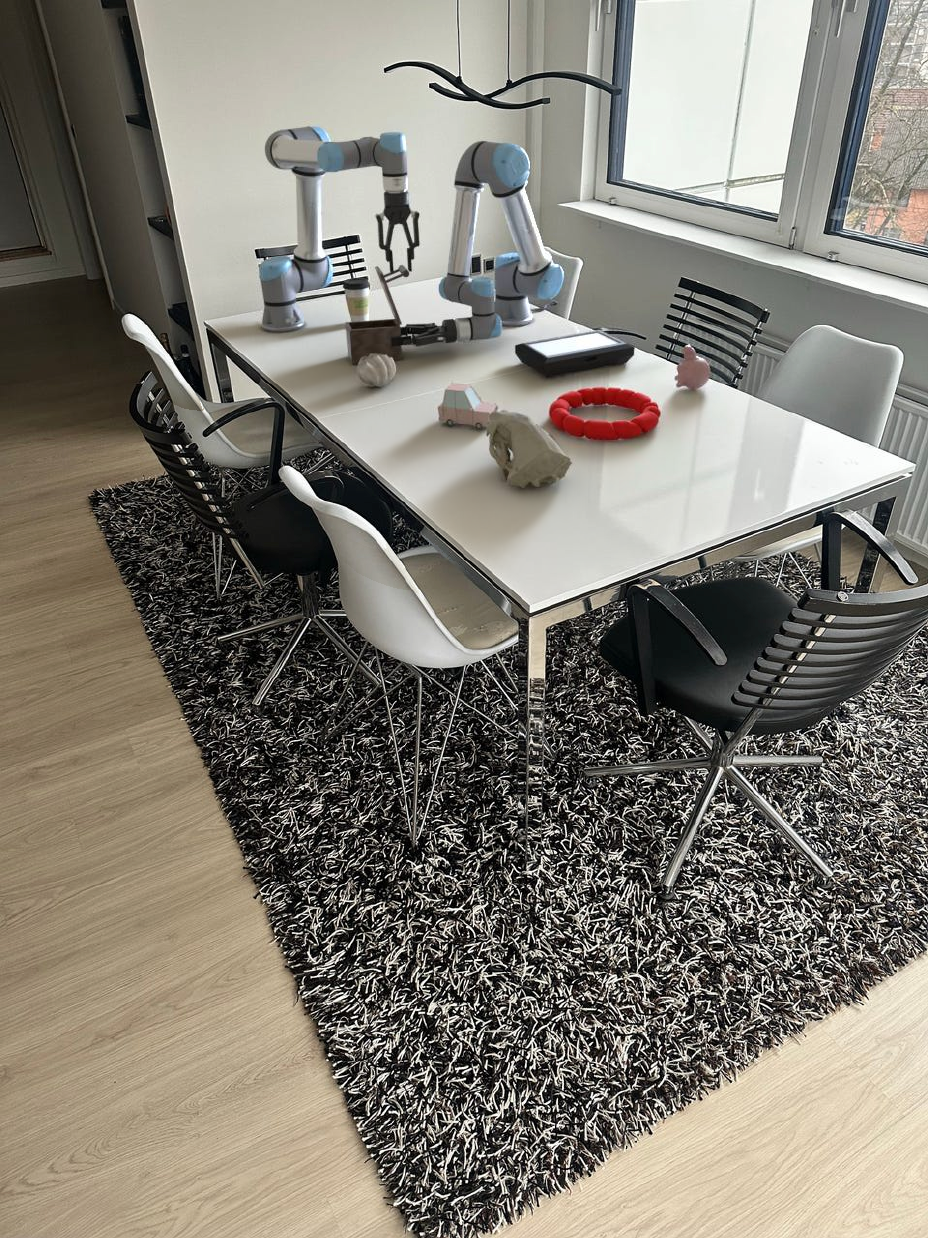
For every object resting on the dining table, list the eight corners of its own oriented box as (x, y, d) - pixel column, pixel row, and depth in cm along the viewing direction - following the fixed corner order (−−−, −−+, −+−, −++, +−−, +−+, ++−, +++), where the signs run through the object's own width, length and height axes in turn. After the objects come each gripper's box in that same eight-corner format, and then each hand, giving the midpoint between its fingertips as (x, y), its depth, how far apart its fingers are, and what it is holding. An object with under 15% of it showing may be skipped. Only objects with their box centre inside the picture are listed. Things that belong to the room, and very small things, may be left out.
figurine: (665, 387, 264) (669, 347, 257) (693, 380, 268) (698, 340, 261) (686, 396, 257) (690, 355, 250) (714, 388, 262) (720, 348, 255)
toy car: (488, 432, 240) (488, 396, 234) (436, 426, 244) (434, 390, 239) (499, 419, 247) (499, 384, 241) (448, 413, 252) (447, 379, 246)
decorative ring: (589, 435, 224) (684, 402, 234) (527, 398, 247) (617, 369, 256) (589, 461, 229) (683, 427, 238) (529, 422, 251) (617, 393, 260)
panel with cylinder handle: (379, 273, 276) (406, 262, 276) (374, 266, 283) (400, 255, 283) (399, 325, 286) (424, 314, 286) (393, 317, 293) (418, 306, 293)
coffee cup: (372, 326, 323) (368, 283, 314) (345, 327, 323) (340, 284, 315) (374, 318, 331) (371, 276, 322) (348, 319, 331) (344, 277, 323)
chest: (351, 363, 289) (349, 330, 283) (348, 354, 296) (345, 322, 290) (402, 359, 292) (400, 326, 286) (396, 350, 300) (395, 318, 294)
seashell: (349, 385, 273) (346, 353, 267) (393, 376, 278) (391, 344, 273) (363, 395, 265) (359, 362, 260) (408, 385, 271) (405, 353, 265)
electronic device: (544, 360, 268) (515, 342, 283) (544, 380, 271) (514, 361, 286) (634, 344, 278) (601, 327, 293) (633, 363, 282) (600, 346, 297)
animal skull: (496, 517, 219) (521, 479, 201) (463, 429, 225) (484, 384, 207) (557, 503, 225) (586, 465, 206) (523, 417, 231) (549, 373, 212)
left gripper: (368, 194, 264) (374, 276, 277) (428, 190, 267) (431, 271, 280) (364, 190, 269) (370, 270, 283) (422, 186, 273) (426, 266, 286)
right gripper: (463, 351, 289) (395, 359, 285) (448, 332, 307) (384, 338, 303) (463, 328, 285) (394, 335, 281) (447, 310, 303) (382, 316, 298)
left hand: (400, 271), depth 281 cm, fingers open, 5 cm apart
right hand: (389, 337), depth 292 cm, fingers closed on chest, 9 cm apart
